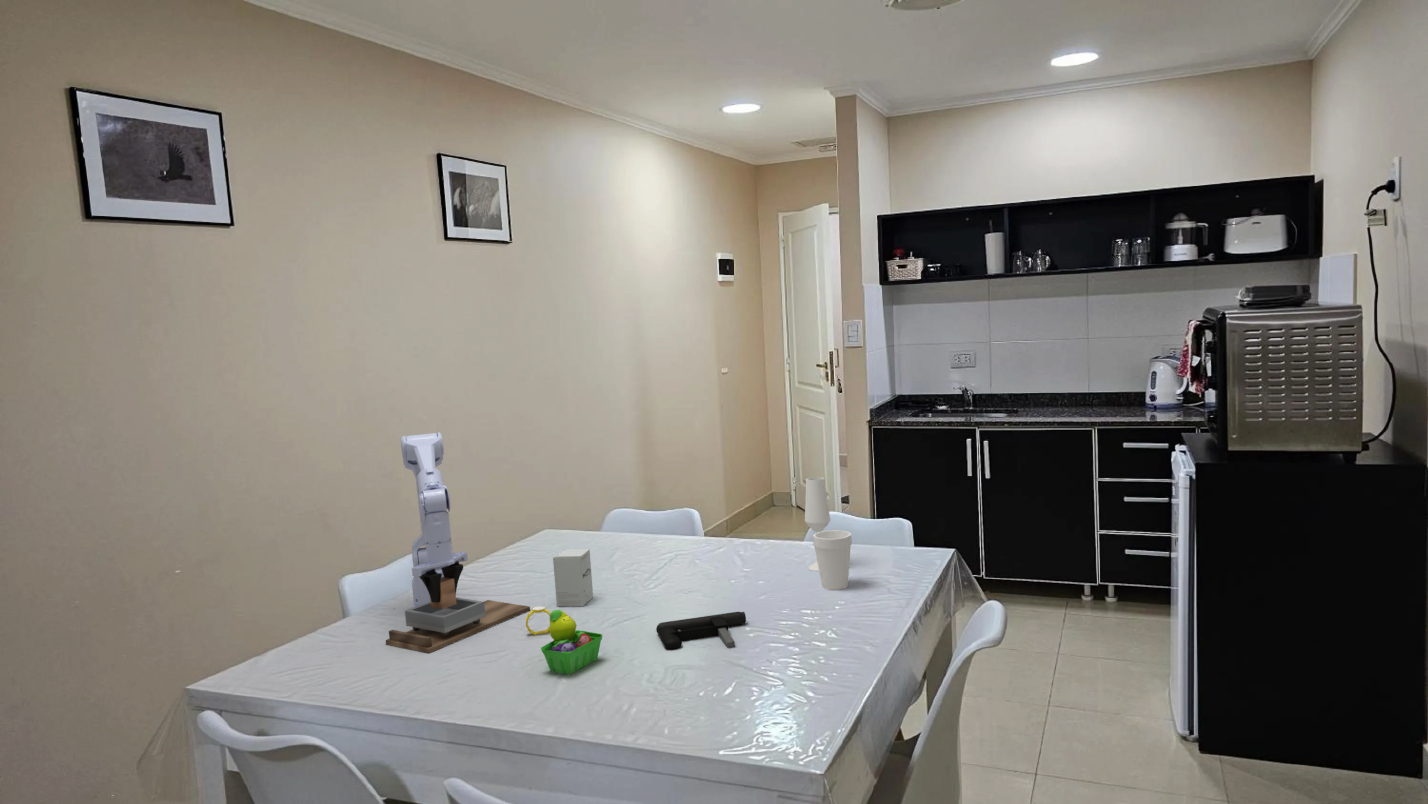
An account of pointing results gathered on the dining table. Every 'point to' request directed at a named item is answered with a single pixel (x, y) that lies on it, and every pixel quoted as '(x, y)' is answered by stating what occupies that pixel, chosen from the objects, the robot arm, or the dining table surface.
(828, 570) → the foam cup
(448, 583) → the part block
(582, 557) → the supplement box
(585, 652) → the fruit basket
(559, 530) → the dining table surface
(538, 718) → the dining table surface
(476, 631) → the board
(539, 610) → the watch
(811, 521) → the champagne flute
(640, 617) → the dining table surface
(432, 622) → the tray
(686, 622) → the door handle
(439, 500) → the robot arm
